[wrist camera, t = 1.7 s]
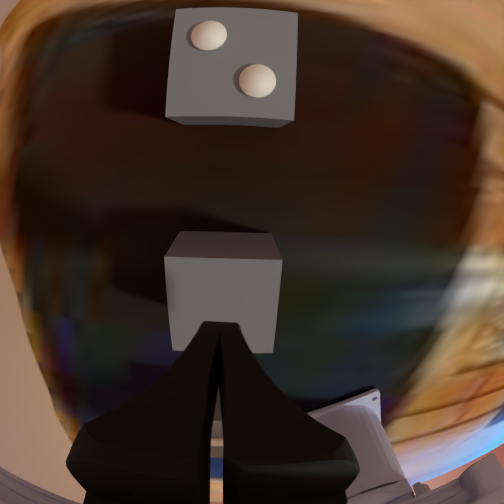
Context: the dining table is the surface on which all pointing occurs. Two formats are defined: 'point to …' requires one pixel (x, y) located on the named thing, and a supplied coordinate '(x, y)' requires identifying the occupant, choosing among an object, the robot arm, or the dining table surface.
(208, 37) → the dotted block
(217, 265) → the plain block
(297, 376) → the dining table surface
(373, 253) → the dining table surface
